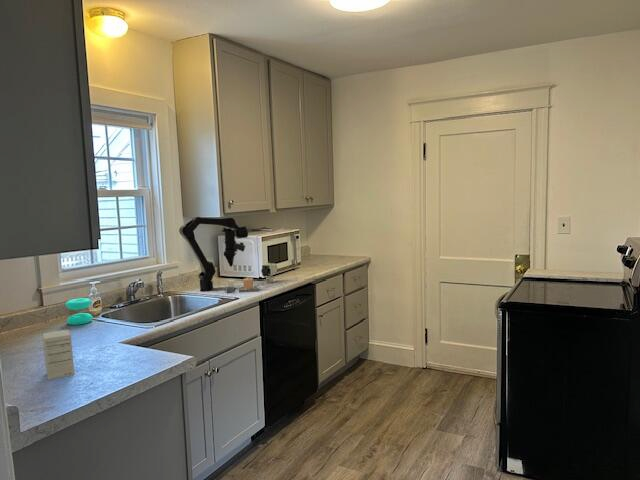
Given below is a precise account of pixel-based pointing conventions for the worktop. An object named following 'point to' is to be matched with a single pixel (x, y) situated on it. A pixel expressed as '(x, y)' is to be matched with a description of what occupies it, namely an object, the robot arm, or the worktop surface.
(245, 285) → the block
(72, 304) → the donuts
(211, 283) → the robot arm
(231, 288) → the ram rail
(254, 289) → the plate
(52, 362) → the supplement box
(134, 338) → the worktop surface
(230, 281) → the block
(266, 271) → the pneumatic valve
